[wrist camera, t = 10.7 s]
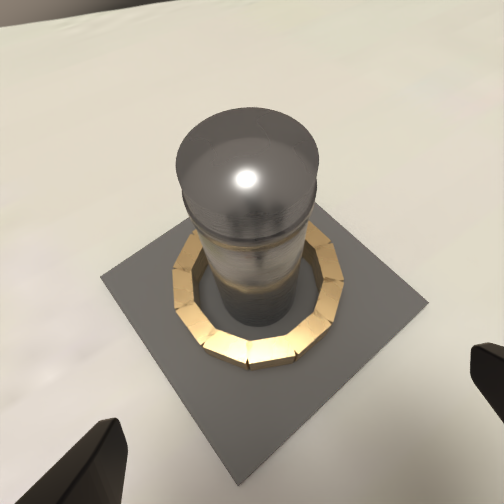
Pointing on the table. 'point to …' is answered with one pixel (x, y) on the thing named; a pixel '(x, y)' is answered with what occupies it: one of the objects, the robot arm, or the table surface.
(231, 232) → the grey tall cylinder
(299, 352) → the ring collar
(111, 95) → the table surface
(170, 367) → the mat
